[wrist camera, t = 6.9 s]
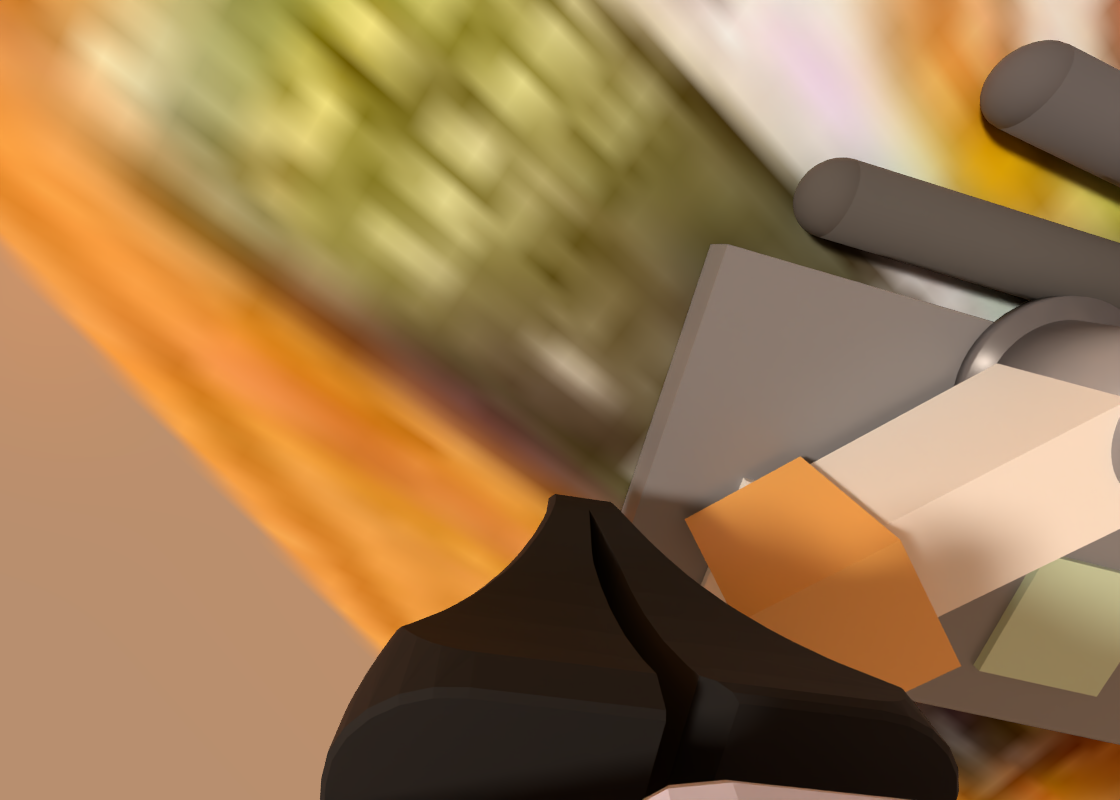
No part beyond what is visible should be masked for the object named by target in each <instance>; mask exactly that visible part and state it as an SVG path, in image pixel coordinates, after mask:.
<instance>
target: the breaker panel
mask: <svg viewBox="0 0 1120 800" xmlns="http://www.w3.org/2000/svg"><path fill="white" fill-rule="evenodd" d="M1063 320H1079V321H1086V322H1093V323H1100V324H1107V325H1113V326H1120V309H1118V308H1116V307H1115V306H1113V305H1111V304H1110V303H1107V302H1105V301H1102V300H1099V299H1095V298H1090V297H1081V296H1049V297H1043V298H1039V299H1036V300H1033V301H1029V302H1027V303H1025V304H1022V305H1020V306H1018V307H1016V308H1014V309H1012V310H1011V311H1009V312H1007V313H1006V314H1004V315H1003V316H1001V317H1000V318H999V319H997V320H996V321H995V322H992V321H989V320H986V319H982V318H979V317H975V316H972V315H968V314H965V313H962V312H958V311H955V310H951V309H948V308H944V307H941V306H938V305H934V304H931V303H927V302H924V301H920V300H917V299H914V298H910V297H907V296H903V295H900V294H897V293H893V292H890V291H886V290H883V289H879V288H876V287H873V286H869V285H866V284H862V283H859V282H855V281H852V280H849V279H845V278H842V277H838V276H835V275H831V274H828V273H825V272H821V271H818V270H814V269H811V268H807V267H804V266H801V265H797V264H794V263H790V262H787V261H783V260H780V259H777V258H773V257H770V256H766V255H763V254H759V253H756V252H753V251H749V250H746V249H742V248H739V247H735V246H732V245H729V244H711V245H710V248H709V251H708V254H707V257H706V260H705V263H704V266H703V269H702V272H701V275H700V278H699V281H698V284H697V287H696V290H695V293H694V296H693V299H692V302H691V305H690V308H689V311H688V314H687V317H686V320H685V323H684V326H683V329H682V332H681V335H680V338H679V341H678V344H677V347H676V350H675V353H674V356H673V359H672V362H671V365H670V368H669V371H668V374H667V377H666V380H665V383H664V386H663V389H662V392H661V395H660V398H659V401H658V404H657V407H656V410H655V413H654V416H653V419H652V422H651V425H650V428H649V431H648V434H647V437H646V440H645V443H644V446H643V449H642V451H641V454H640V457H639V460H638V463H637V466H636V469H635V472H634V475H633V478H632V481H631V484H630V487H629V490H628V493H627V496H626V499H625V502H624V505H623V508H622V511H621V512H622V513H623V514H624V515H625V516H626V517H627V518H628V519H629V520H630V522H631V523H632V524H633V525H634V526H635V527H636V528H637V529H638V530H639V531H640V532H641V533H642V534H643V535H644V536H645V537H646V538H647V539H648V540H649V541H650V542H651V543H652V544H653V545H654V546H655V547H656V548H657V549H659V550H660V551H661V552H662V553H663V554H664V555H665V556H666V557H667V558H668V559H669V560H671V561H672V562H673V563H674V564H675V565H676V566H678V567H679V568H680V569H681V570H682V571H683V572H685V573H686V574H687V575H688V576H690V577H691V578H692V579H693V580H695V581H696V582H697V583H698V584H700V585H701V586H703V587H704V588H705V589H707V590H708V591H710V592H711V593H712V594H714V595H715V596H717V597H718V598H719V599H721V600H722V601H724V602H725V603H727V602H726V600H725V598H724V596H723V594H722V592H721V590H720V588H719V586H718V584H717V582H716V580H715V578H714V576H713V574H712V572H711V571H710V569H709V567H708V565H707V563H706V561H705V559H704V557H703V555H702V553H701V551H700V549H699V547H698V545H697V543H696V541H695V539H694V537H693V535H692V533H691V531H690V529H689V527H688V525H687V523H686V521H685V519H686V518H688V517H690V516H691V515H693V514H695V513H697V512H699V511H701V510H702V509H704V508H706V507H708V506H710V505H712V504H714V503H715V502H717V501H719V500H721V499H723V498H725V497H726V496H728V495H730V494H732V493H734V492H736V491H737V490H739V489H741V488H743V487H745V486H747V485H748V484H750V483H752V482H754V481H756V480H758V479H760V478H761V477H763V476H765V475H767V474H769V473H771V472H772V471H774V470H776V469H778V468H780V467H782V466H783V465H785V464H787V463H789V462H791V461H793V460H794V459H796V458H798V457H800V456H801V457H802V458H803V459H804V460H805V461H807V462H808V463H809V464H811V463H813V462H815V461H817V460H819V459H821V458H823V457H824V456H826V455H828V454H830V453H832V452H834V451H835V450H837V449H839V448H841V447H843V446H845V445H847V444H848V443H850V442H852V441H854V440H856V439H858V438H860V437H861V436H863V435H865V434H867V433H869V432H871V431H872V430H874V429H876V428H878V427H880V426H882V425H884V424H885V423H887V422H889V421H891V420H893V419H895V418H897V417H898V416H900V415H902V414H904V413H906V412H908V411H910V410H911V409H913V408H915V407H917V406H919V405H921V404H922V403H924V402H926V401H928V400H930V399H932V398H934V397H935V396H937V395H939V394H941V393H943V392H945V391H947V390H948V389H950V388H952V387H954V386H956V385H958V384H959V383H961V382H963V381H965V380H967V379H969V378H971V377H972V376H974V375H976V374H978V373H980V372H982V371H984V370H985V369H987V368H989V367H991V366H993V365H995V364H997V362H998V361H999V359H1000V358H1001V357H1002V355H1003V354H1004V353H1005V352H1006V351H1007V350H1008V348H1009V347H1010V346H1012V345H1013V344H1014V343H1015V342H1016V341H1017V340H1018V339H1020V338H1021V337H1022V336H1024V335H1025V334H1027V333H1029V332H1030V331H1032V330H1034V329H1036V328H1038V327H1040V326H1043V325H1045V324H1048V323H1052V322H1056V321H1063ZM938 619H939V621H940V623H941V625H942V627H943V629H944V631H945V633H946V635H947V637H948V640H949V642H950V644H951V646H952V648H953V650H954V652H955V654H956V656H957V658H958V660H959V662H960V664H961V666H960V667H958V668H956V669H954V670H952V671H949V672H947V673H945V674H943V675H941V676H939V677H937V678H935V679H932V680H930V681H928V682H926V683H924V684H922V685H920V686H918V687H915V688H913V689H911V690H909V691H907V692H906V693H907V695H908V696H909V697H910V698H911V700H912V701H915V702H919V703H924V704H929V705H934V706H938V707H943V708H948V709H953V710H957V711H962V712H967V713H972V714H976V715H981V716H986V717H991V718H995V719H1000V720H1005V721H1010V722H1014V723H1019V724H1024V725H1029V726H1033V727H1038V728H1043V729H1048V730H1052V731H1057V732H1062V733H1067V734H1071V735H1076V736H1081V737H1086V738H1090V739H1095V740H1100V741H1105V742H1109V743H1114V744H1119V745H1120V529H1119V530H1117V531H1114V532H1112V533H1110V534H1108V535H1106V536H1104V537H1102V538H1100V539H1098V540H1096V541H1094V542H1092V543H1090V544H1088V545H1086V546H1084V547H1081V548H1079V549H1077V550H1075V551H1073V552H1071V553H1069V554H1067V555H1065V556H1063V557H1061V558H1059V559H1057V560H1055V561H1053V562H1051V563H1049V564H1046V565H1044V566H1042V567H1040V568H1038V569H1036V570H1034V571H1032V572H1030V573H1028V574H1026V575H1024V576H1022V577H1020V578H1018V579H1016V580H1013V581H1011V582H1009V583H1007V584H1005V585H1003V586H1001V587H999V588H997V589H995V590H993V591H991V592H989V593H987V594H985V595H983V596H981V597H978V598H976V599H974V600H972V601H970V602H968V603H966V604H964V605H962V606H960V607H958V608H956V609H954V610H952V611H950V612H948V613H945V614H943V615H941V616H939V617H938Z"/></svg>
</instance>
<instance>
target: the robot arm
mask: <svg viewBox="0 0 1120 800" xmlns="http://www.w3.org/2000/svg"><path fill="white" fill-rule="evenodd" d="M958 792H959V784H958V767H957V764H956V762H955V759H954V757H953V754H952V752H951V750H950V747H949V746H948V745H947V744H946V742H945V741H944V740H943V739H942V737H941V736H940V735H939V734H938V732H937V731H936V730H935V728H934V727H933V726H932V725H931V723H930V722H929V721H928V720H927V718H926V717H925V716H924V715H923V713H922V712H921V711H920V710H919V708H918V707H917V706H916V705H915V703H914V702H913V701H912V700H911V698H910V697H909V696H908V695H907V693H906V692H905V691H904V690H903V689H902V688H901V687H898V686H896V685H893V684H891V683H888V682H886V681H883V680H881V679H878V678H876V677H873V676H871V675H868V674H866V673H863V672H861V671H858V670H856V669H853V668H851V667H848V666H846V665H843V664H841V663H838V662H836V661H833V660H831V659H829V658H826V657H824V656H822V655H820V654H818V653H816V652H814V651H812V650H810V649H808V648H805V647H803V646H801V645H799V644H797V643H795V642H793V641H791V640H789V639H787V638H785V637H783V636H781V635H780V634H778V633H776V632H774V631H772V630H770V629H768V628H766V627H765V626H763V625H761V624H760V623H758V622H756V621H755V620H753V619H751V618H749V617H748V616H746V615H744V614H743V613H741V612H739V611H738V610H736V609H735V608H733V607H731V606H730V605H728V604H727V603H725V602H724V601H722V600H721V599H719V598H718V597H717V596H715V595H714V594H712V593H711V592H710V591H708V590H707V589H705V588H704V587H703V586H701V585H700V584H698V583H697V582H696V581H695V580H693V579H692V578H691V577H690V576H688V575H687V574H686V573H685V572H683V571H682V570H681V569H680V568H679V567H678V566H676V565H675V564H674V563H673V562H672V561H671V560H669V559H668V558H667V557H666V556H665V555H664V554H663V553H662V552H661V551H660V550H659V549H657V548H656V547H655V546H654V545H653V544H652V543H651V542H650V541H649V540H648V539H647V538H646V537H645V536H644V535H643V534H642V533H641V532H640V531H639V530H638V529H637V528H636V527H635V526H634V525H633V524H632V523H631V522H630V520H629V519H628V518H627V517H626V516H625V515H624V514H623V513H622V512H621V511H620V510H619V509H618V508H617V507H616V506H615V505H614V504H612V503H611V502H606V501H599V500H592V499H585V498H578V497H572V496H565V495H558V494H555V495H553V496H552V497H550V498H549V501H548V506H547V512H546V514H545V517H544V519H543V520H542V522H541V524H540V525H539V527H538V529H537V530H536V532H535V534H534V535H533V537H532V538H531V539H530V540H529V542H528V543H527V544H526V546H525V547H524V548H523V550H522V551H521V552H520V553H519V554H518V556H517V557H516V558H515V559H514V560H513V561H512V562H511V563H510V564H509V565H508V566H507V567H506V568H505V569H504V570H503V571H502V572H501V573H500V574H499V575H497V576H496V577H495V578H494V579H492V580H491V581H490V582H489V583H488V584H486V585H485V586H484V587H483V588H481V589H480V590H478V591H477V592H476V593H474V594H473V595H471V596H469V597H468V598H466V599H464V600H463V601H461V602H459V603H458V604H456V605H454V606H452V607H450V608H448V609H446V610H444V611H442V612H439V613H437V614H434V615H431V616H429V617H426V618H424V619H421V620H419V621H416V622H414V623H411V624H408V625H405V626H402V627H401V628H399V629H398V630H397V631H396V632H395V634H394V635H393V636H392V638H391V639H390V640H389V642H388V643H387V645H386V646H385V647H384V649H383V650H382V651H381V653H380V654H379V656H378V657H377V659H376V660H375V662H374V663H373V665H372V666H371V668H370V669H369V671H368V673H367V674H366V675H365V677H364V679H363V680H362V682H361V684H360V686H359V687H358V689H357V691H356V692H355V694H354V696H353V698H352V699H351V701H350V703H349V705H348V707H347V709H346V711H345V714H344V716H343V718H342V720H341V723H340V725H339V727H338V730H337V732H336V735H335V737H334V739H333V742H332V744H331V746H330V749H329V751H328V754H327V758H326V762H325V766H324V770H323V774H322V779H321V793H320V800H956V799H957V796H958Z"/></svg>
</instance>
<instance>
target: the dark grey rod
mask: <svg viewBox="0 0 1120 800" xmlns="http://www.w3.org/2000/svg"><path fill="white" fill-rule="evenodd" d="M793 208H794V214H795V217H796V219H797V221H798V223H799V224H800V225H801V227H802V228H803V229H805V230H806V231H807V232H809V233H810V234H812V235H814V236H817V237H820V238H823V239H827V240H830V241H834V242H837V243H840V244H844V245H847V246H850V247H854V248H857V249H860V250H864V251H867V252H870V253H874V254H877V255H880V256H884V257H887V258H890V259H894V260H897V261H900V262H904V263H907V264H911V265H914V266H917V267H921V268H924V269H927V270H931V271H934V272H937V273H941V274H944V275H947V276H951V277H954V278H957V279H961V280H964V281H967V282H971V283H974V284H978V285H981V286H984V287H988V288H991V289H994V290H998V291H1001V292H1004V293H1008V294H1011V295H1014V296H1018V297H1021V298H1024V299H1028V300H1031V301H1033V300H1036V299H1039V298H1043V297H1049V296H1081V297H1090V298H1095V299H1099V300H1102V301H1105V302H1107V303H1110V304H1111V305H1113V306H1115V307H1116V308H1118V309H1120V243H1118V242H1115V241H1111V240H1108V239H1105V238H1102V237H1099V236H1096V235H1092V234H1089V233H1086V232H1083V231H1080V230H1077V229H1073V228H1070V227H1067V226H1064V225H1061V224H1058V223H1054V222H1051V221H1048V220H1045V219H1042V218H1039V217H1035V216H1032V215H1029V214H1026V213H1023V212H1020V211H1016V210H1013V209H1010V208H1007V207H1004V206H1001V205H998V204H994V203H991V202H988V201H985V200H982V199H979V198H975V197H972V196H969V195H966V194H963V193H960V192H956V191H953V190H950V189H947V188H944V187H941V186H937V185H934V184H931V183H928V182H925V181H922V180H918V179H915V178H912V177H909V176H906V175H903V174H899V173H896V172H893V171H890V170H887V169H884V168H881V167H877V166H874V165H871V164H868V163H865V162H862V161H858V160H855V159H851V158H834V159H829V160H826V161H824V162H822V163H820V164H818V165H816V166H815V167H813V168H812V169H811V170H809V171H808V172H807V173H806V174H805V176H804V177H803V178H802V179H801V181H800V182H799V184H798V186H797V188H796V191H795V194H794V200H793Z"/></svg>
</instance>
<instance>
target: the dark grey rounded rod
mask: <svg viewBox="0 0 1120 800" xmlns="http://www.w3.org/2000/svg"><path fill="white" fill-rule="evenodd" d="M980 106H981V110H982V113H983V115H984V117H985V118H986V120H987V121H988V122H989V123H990V124H992V125H993V126H995V127H996V128H998V129H1000V130H1002V131H1004V132H1006V133H1008V134H1010V135H1012V136H1014V137H1016V138H1019V139H1021V140H1023V141H1025V142H1027V143H1029V144H1031V145H1033V146H1035V147H1037V148H1039V149H1041V150H1043V151H1045V152H1047V153H1049V154H1052V155H1054V156H1056V157H1058V158H1060V159H1062V160H1064V161H1066V162H1068V163H1070V164H1072V165H1074V166H1076V167H1078V168H1080V169H1082V170H1084V171H1087V172H1089V173H1091V174H1093V175H1095V176H1097V177H1099V178H1101V179H1103V180H1105V181H1107V182H1109V183H1111V184H1113V185H1115V186H1117V187H1119V188H1120V70H1118V69H1116V68H1114V67H1112V66H1110V65H1108V64H1106V63H1104V62H1102V61H1100V60H1099V59H1097V58H1095V57H1093V56H1091V55H1089V54H1087V53H1085V52H1083V51H1081V50H1079V49H1077V48H1075V47H1074V46H1072V45H1070V44H1066V43H1063V42H1061V41H1054V40H1045V41H1038V42H1034V43H1031V44H1028V45H1025V46H1022V47H1020V48H1018V49H1017V50H1015V51H1013V52H1012V53H1010V54H1009V55H1007V56H1006V57H1005V58H1003V59H1002V60H1001V61H1000V62H999V63H998V64H997V65H996V66H995V67H994V69H993V70H992V71H991V73H990V74H989V75H988V77H987V79H986V80H985V82H984V85H983V87H982V91H981V96H980Z"/></svg>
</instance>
